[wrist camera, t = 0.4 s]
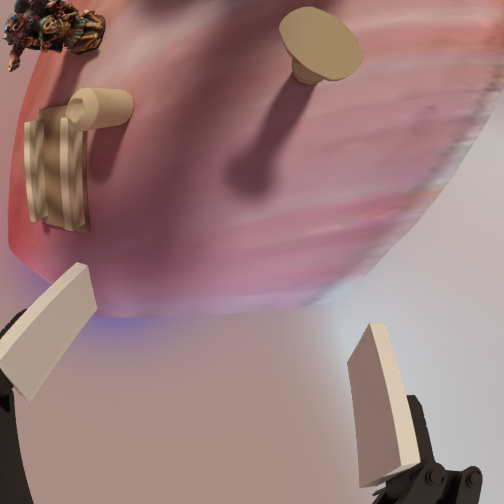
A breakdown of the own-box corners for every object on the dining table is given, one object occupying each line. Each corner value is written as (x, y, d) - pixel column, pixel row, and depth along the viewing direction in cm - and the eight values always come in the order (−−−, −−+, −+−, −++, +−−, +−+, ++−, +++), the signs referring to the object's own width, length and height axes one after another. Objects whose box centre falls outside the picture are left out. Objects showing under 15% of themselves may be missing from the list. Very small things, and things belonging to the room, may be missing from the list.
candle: (136, 121, 32) (92, 127, 23) (106, 128, 33) (61, 137, 24) (133, 85, 30) (89, 81, 21) (103, 94, 30) (57, 96, 22)
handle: (310, 103, 29) (328, 91, 16) (274, 66, 27) (265, 30, 14) (338, 82, 27) (375, 57, 14) (303, 45, 25) (314, -3, 12)
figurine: (119, 50, 27) (25, 28, 11) (76, 76, 29) (-14, 74, 12) (115, 0, 23) (36, -32, 6) (73, 27, 25) (-6, 13, 8)
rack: (43, 108, 31) (25, 111, 27) (89, 102, 31) (70, 103, 27) (47, 220, 42) (32, 230, 38) (89, 230, 41) (74, 242, 37)
